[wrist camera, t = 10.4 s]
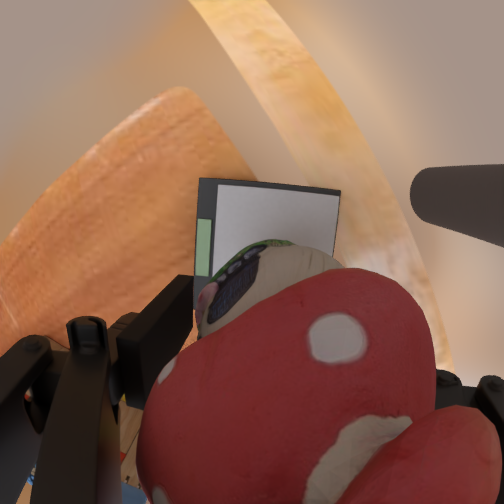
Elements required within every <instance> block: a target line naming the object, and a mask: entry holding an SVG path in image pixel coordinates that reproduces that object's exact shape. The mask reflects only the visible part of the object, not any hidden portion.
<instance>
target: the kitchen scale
mask: <svg viewBox="0 0 504 504" xmlns="http://www.w3.org/2000/svg"><path fill="white" fill-rule="evenodd" d="M340 195H341V191H340V190H333V189H325V188H316V187H308V186H299V185H289V184H279V183H267V182H257V181H245V180H231V179H216V178H199V188H198V203H197V220H196V239H195V262H194V295H193V309H194V310H196V305H197V301H198V297H199V294H200V292H201V291H202V289H203V288H204V287H205V286H206V284H207V283H208V282H209V281H210V280H211V278H212V277H213V276H214V275H215V274H216V273H217V272H218V271H219V269H220V268H221V267H223V266H224V265H225V264H226V263H227V262H228V261H229V260H230V259H231V258H232V257H233V256H235V255H236V254H237V253H238V252H239V251H240V250H242V249H243V248H245V247H247V246H249V245H251V244H253V243H256V242H260V241H263V240H268V239H278V240H288V241H290V242H292V243H294V244H296V245H298V246H307V247H311V248H315V249H318V250H321V251H323V252H325V253H327V254H328V255H330V256H332V257H333V252H334V245H335V238H336V230H337V222H338V213H339V204H340Z"/></svg>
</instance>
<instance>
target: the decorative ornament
mask: <svg viewBox="0 0 504 504" xmlns="http://www.w3.org/2000/svg"><path fill="white" fill-rule="evenodd" d="M195 318H196V323H197V328H198V331H199V332H198V336H197V341H196V342H194V343H193V344H191V345H190V346H188V347H187V348H185V349H184V350H182V351H181V352H180V353H178V354H177V355H176V356H175V357H174V358H173V359H172V360H171V361H170V362H169V363H168V364H167V365H166V366H165V367H164V368H163V369H162V371H161V372H160V374H159V375H158V377H157V379H156V381H155V383H154V385H153V387H152V389H151V392H150V394H149V396H148V399H147V401H146V404H145V408H144V411H143V415H142V420H141V425H140V430H139V434H138V440H137V448H136V460H135V464H136V471H137V477H138V480H139V482H140V485H141V487H142V490H143V492H144V493H145V495H146V497H147V499H148V500H149V502H150V504H495V502H496V499H497V496H498V494H499V490H500V481H501V471H502V454H501V446H500V440H499V436H498V433H497V431H496V428H495V425H494V424H493V423H492V422H491V421H490V420H489V419H488V418H487V417H486V416H485V415H484V414H483V413H482V412H481V411H480V410H478V409H477V408H471V407H465V406H459V405H453V406H449V407H445V408H442V409H438V410H434V409H435V397H436V364H435V354H434V347H433V342H432V337H431V333H430V328H429V326H428V323H427V320H426V318H425V315H424V313H423V311H422V309H421V308H420V306H419V305H418V304H417V302H416V301H415V300H414V298H413V297H412V296H411V295H410V294H409V293H408V292H407V291H406V290H405V289H404V288H403V287H402V286H401V285H399V284H398V283H397V282H396V281H394V280H392V279H390V278H387V277H385V276H383V275H380V274H378V273H375V272H371V271H368V270H364V269H360V268H344V267H343V266H342V265H341V264H340V263H339V262H338V261H337V260H335V259H334V258H333V257H332V256H330V255H328V254H327V253H325V252H323V251H321V250H318V249H315V248H311V247H307V246H298V245H296V244H294V243H292V242H290V241H288V240H278V239H268V240H263V241H260V242H256V243H253V244H251V245H249V246H247V247H245V248H243V249H242V250H240V251H239V252H238V253H237V254H236V255H235V256H233V257H232V258H231V259H230V260H229V261H228V262H227V263H226V264H225V265H224V266H223V267H221V268H220V269H219V271H218V272H217V273H216V274H215V275H214V276H213V277H212V278H211V280H210V281H209V282H208V283H207V284H206V286H205V287H204V288H203V289H202V291H201V292H200V294H199V297H198V301H197V305H196V310H195Z"/></svg>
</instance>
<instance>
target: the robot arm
mask: <svg viewBox="0 0 504 504" xmlns="http://www.w3.org/2000/svg"><path fill="white" fill-rule="evenodd" d="M193 286H194V276H188V275H180V274H179V275H177V276H176V277H175V278H174V279H173V280H172V281H171V282H170V283H169V284H168V285H167V286H166V287H165V288H164V289H163V290H162V291H161V292H160V293H159V294H158V295H157V296H156V297H155V298H154V299H153V300H152V301H151V302H150V303H149V304H148V305H147V306H146V307H145V308H144V309H143V310H142V311H141V312H140V313H134V312H130V313H128V314H126V315H123V316H121V317H120V318H119V319H118V320H117V321H116V322H115V323H114V324H113V325H111V326H110V328H108V329H107V327H106V322H105V321H104V320H103V319H101V318H98V317H94V316H81V317H77V318H74V319H72V320H70V321H69V322H68V323H67V324H66V327H67V333H68V338H69V344H70V350H69V351H58V350H52V349H51V344H50V340H49V339H48V338H47V337H44V336H40V335H29V336H27V337H24V338H22V339H20V340H19V341H18V342H17V343H15V344H14V345H13V346H12V347H11V348H10V349H9V350H8V351H7V352H6V353H5V354H4V355H3V356H2V357H0V504H16V502H17V500H18V498H19V496H20V494H21V491H22V489H23V487H24V485H25V483H26V481H27V479H28V477H29V475H30V474H31V472H32V470H33V468H34V466H35V464H36V462H37V464H36V469H35V474H34V479H33V485H32V491H31V498H30V504H123V501H122V486H121V460H120V418H121V410H120V405H119V400H120V399H121V397H122V396H123V395H125V401H126V406H129V407H133V408H136V409H140V410H144V408H145V404H146V401H147V399H148V396H149V394H150V392H151V389H152V387H153V385H154V383H155V381H156V379H157V377H158V375H159V374H160V372H161V371H162V369H163V368H164V367H165V366H166V365H167V364H168V363H169V362H170V361H171V360H172V359H173V358H174V357H175V356H176V355H177V354H178V353H179V351H180V350H181V348H182V346H183V344H184V342H185V341H186V339H187V337H188V335H189V333H190V331H191V330H192V328H193ZM27 390H29V392H30V397H29V398H28V399H27V400H26V398H25V394H26V392H27ZM453 405H459V406H465V407H471V408H477V409H478V410H480V411H481V412H482V413H483V414H484V415H485V416H486V417H487V418H488V419H489V420H490V421H491V422H492V423H493V424H494V425H495V428H496V431H497V433H498V436H499V440H500V446H501V454H502V471H501V481H500V490H499V494H498V496H497V499H496V502H495V504H504V380H503V379H501V378H500V377H498V376H494V375H493V376H491V375H488V376H484V377H482V378H481V380H480V382H479V384H478V386H477V387H469V386H462V383H461V381H460V379H459V378H458V377H457V376H456V375H455V374H453V373H451V372H449V371H445V370H437V369H436V397H435V409H434V410H438V409H442V408H445V407H449V406H453Z"/></svg>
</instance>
